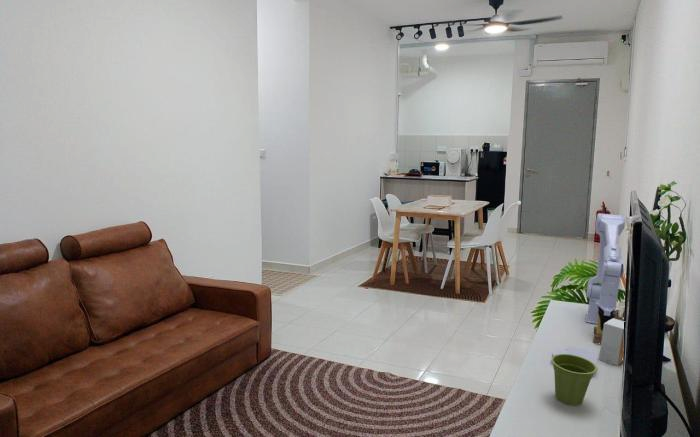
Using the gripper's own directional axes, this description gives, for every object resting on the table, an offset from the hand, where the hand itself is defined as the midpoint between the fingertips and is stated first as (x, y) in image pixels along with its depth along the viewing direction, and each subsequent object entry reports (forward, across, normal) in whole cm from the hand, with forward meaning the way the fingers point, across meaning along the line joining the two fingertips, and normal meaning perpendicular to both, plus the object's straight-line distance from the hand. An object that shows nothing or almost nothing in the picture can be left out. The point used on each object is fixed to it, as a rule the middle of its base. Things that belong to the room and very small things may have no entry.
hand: (603, 328), depth 192 cm
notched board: (+4, 0, 0) cm, 4 cm away
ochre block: (+2, 0, 0) cm, 2 cm away
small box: (+5, +18, +3) cm, 18 cm away
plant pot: (+5, +54, -9) cm, 55 cm away
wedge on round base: (+5, +30, -9) cm, 32 cm away
